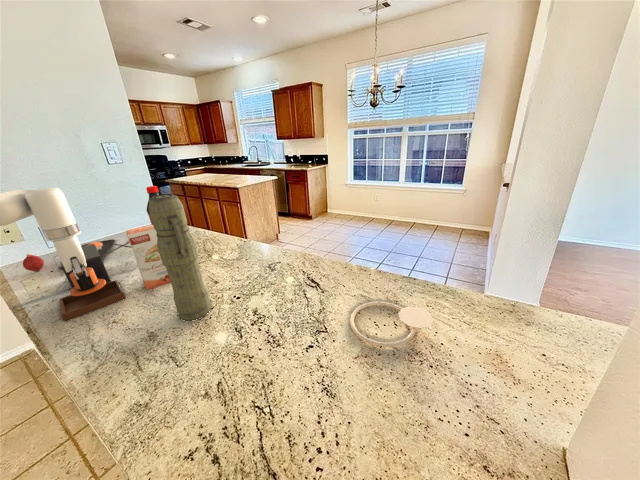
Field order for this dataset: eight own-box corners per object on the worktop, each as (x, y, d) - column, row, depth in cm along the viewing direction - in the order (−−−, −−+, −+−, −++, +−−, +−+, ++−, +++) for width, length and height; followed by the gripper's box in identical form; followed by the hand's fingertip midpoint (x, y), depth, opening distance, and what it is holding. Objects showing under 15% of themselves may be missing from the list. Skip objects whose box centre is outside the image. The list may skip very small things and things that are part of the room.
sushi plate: (82, 248, 129) (79, 241, 128) (152, 235, 141) (150, 229, 139) (58, 274, 105) (53, 265, 104) (144, 256, 116) (141, 249, 115)
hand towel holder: (358, 287, 78) (433, 299, 71) (358, 300, 80) (431, 313, 72) (341, 324, 63) (433, 345, 56) (342, 339, 65) (431, 360, 58)
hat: (71, 299, 78) (62, 282, 76) (69, 288, 84) (61, 272, 82) (108, 287, 83) (101, 270, 81) (104, 277, 90) (97, 262, 87)
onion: (32, 270, 110) (22, 252, 107) (49, 266, 112) (41, 249, 109) (24, 276, 105) (14, 258, 102) (43, 272, 107) (34, 255, 104)
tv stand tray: (64, 322, 77) (60, 315, 76) (62, 305, 85) (59, 298, 84) (125, 298, 86) (123, 292, 85) (118, 285, 95) (116, 279, 94)
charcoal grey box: (76, 297, 88) (61, 266, 84) (73, 281, 99) (59, 252, 95) (112, 285, 95) (100, 255, 90) (105, 271, 106) (94, 243, 101)
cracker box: (147, 291, 90) (126, 234, 82) (144, 284, 94) (124, 229, 86) (190, 276, 98) (175, 223, 90) (185, 270, 102) (171, 219, 94)
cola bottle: (185, 250, 121) (167, 184, 109) (167, 257, 114) (146, 189, 102) (174, 247, 125) (155, 183, 113) (156, 254, 118) (135, 187, 106)
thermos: (200, 297, 85) (170, 190, 71) (220, 311, 78) (191, 194, 64) (172, 312, 79) (134, 197, 65) (190, 328, 72) (152, 203, 58)
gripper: (44, 229, 80) (70, 280, 87) (43, 243, 68) (73, 301, 75) (76, 222, 84) (98, 271, 91) (81, 234, 73) (105, 289, 80)
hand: (86, 284), depth 83 cm, fingers closed on hat, 5 cm apart
